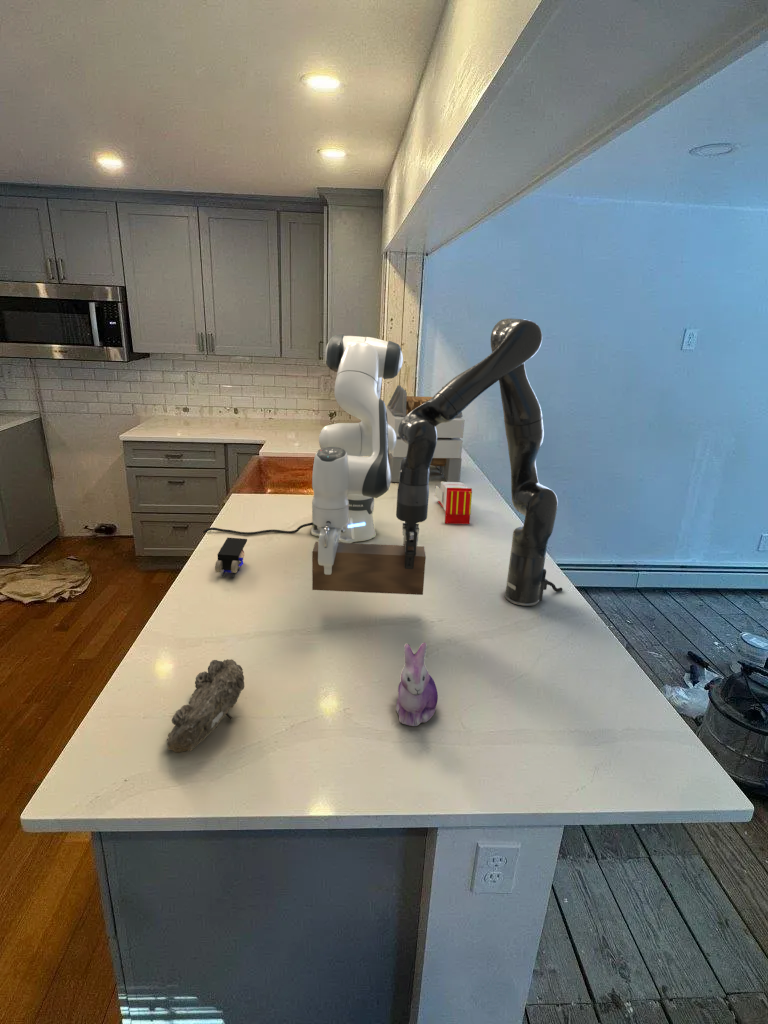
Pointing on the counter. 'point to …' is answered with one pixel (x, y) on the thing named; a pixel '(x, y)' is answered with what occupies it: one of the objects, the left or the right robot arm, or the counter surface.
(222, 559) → the black wheeled vehicle
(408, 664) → the figurine
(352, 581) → the box
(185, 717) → the fossil
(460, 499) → the toy
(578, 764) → the counter surface
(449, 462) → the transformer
